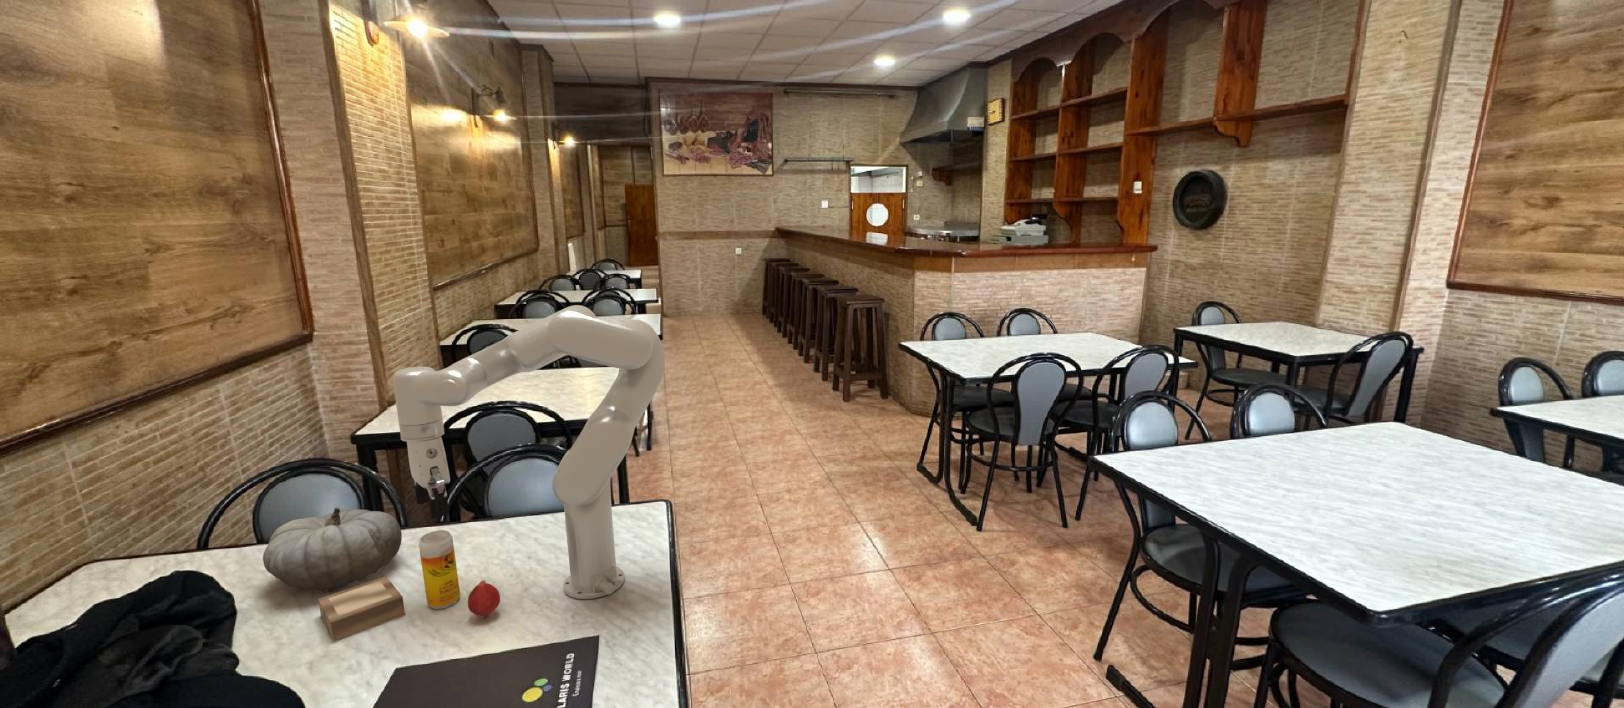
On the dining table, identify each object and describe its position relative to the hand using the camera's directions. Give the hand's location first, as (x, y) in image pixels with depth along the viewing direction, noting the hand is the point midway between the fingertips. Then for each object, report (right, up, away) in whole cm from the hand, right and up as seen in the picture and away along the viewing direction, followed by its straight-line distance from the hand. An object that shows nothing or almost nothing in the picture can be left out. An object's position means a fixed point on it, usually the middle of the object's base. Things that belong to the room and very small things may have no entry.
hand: (432, 509), depth 136 cm
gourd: (-29, -19, +14) cm, 38 cm away
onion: (+12, -21, -2) cm, 25 cm away
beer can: (+1, -21, +3) cm, 21 cm away
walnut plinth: (-14, -21, -1) cm, 25 cm away
